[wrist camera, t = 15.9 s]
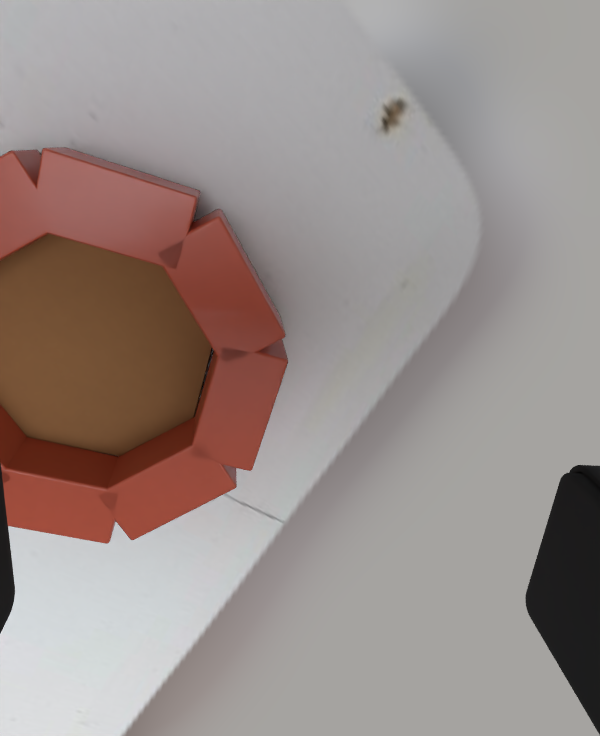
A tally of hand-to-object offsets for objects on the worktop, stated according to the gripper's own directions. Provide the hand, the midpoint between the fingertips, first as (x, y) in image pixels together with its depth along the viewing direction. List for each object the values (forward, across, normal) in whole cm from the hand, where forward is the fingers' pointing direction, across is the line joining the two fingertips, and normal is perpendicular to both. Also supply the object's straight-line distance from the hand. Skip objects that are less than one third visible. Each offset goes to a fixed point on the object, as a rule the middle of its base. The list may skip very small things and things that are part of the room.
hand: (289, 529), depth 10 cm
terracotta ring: (+9, +5, 0) cm, 11 cm away
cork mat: (+10, +5, +1) cm, 11 cm away
